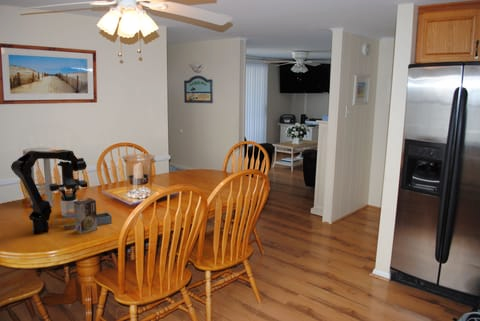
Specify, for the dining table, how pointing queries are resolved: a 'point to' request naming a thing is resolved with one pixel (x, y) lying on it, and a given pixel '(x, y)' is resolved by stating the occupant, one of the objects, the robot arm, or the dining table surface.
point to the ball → (70, 212)
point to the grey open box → (103, 218)
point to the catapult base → (70, 227)
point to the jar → (67, 203)
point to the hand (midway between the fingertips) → (69, 200)
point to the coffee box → (85, 215)
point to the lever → (69, 216)
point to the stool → (47, 175)
